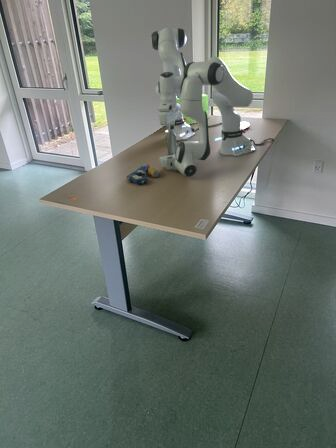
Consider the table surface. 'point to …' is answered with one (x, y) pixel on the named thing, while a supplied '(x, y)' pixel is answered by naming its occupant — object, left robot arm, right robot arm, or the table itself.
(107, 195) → the table surface
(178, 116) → the left robot arm
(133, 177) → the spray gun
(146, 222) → the table surface
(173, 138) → the bottle
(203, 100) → the light green block
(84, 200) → the table surface
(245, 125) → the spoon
